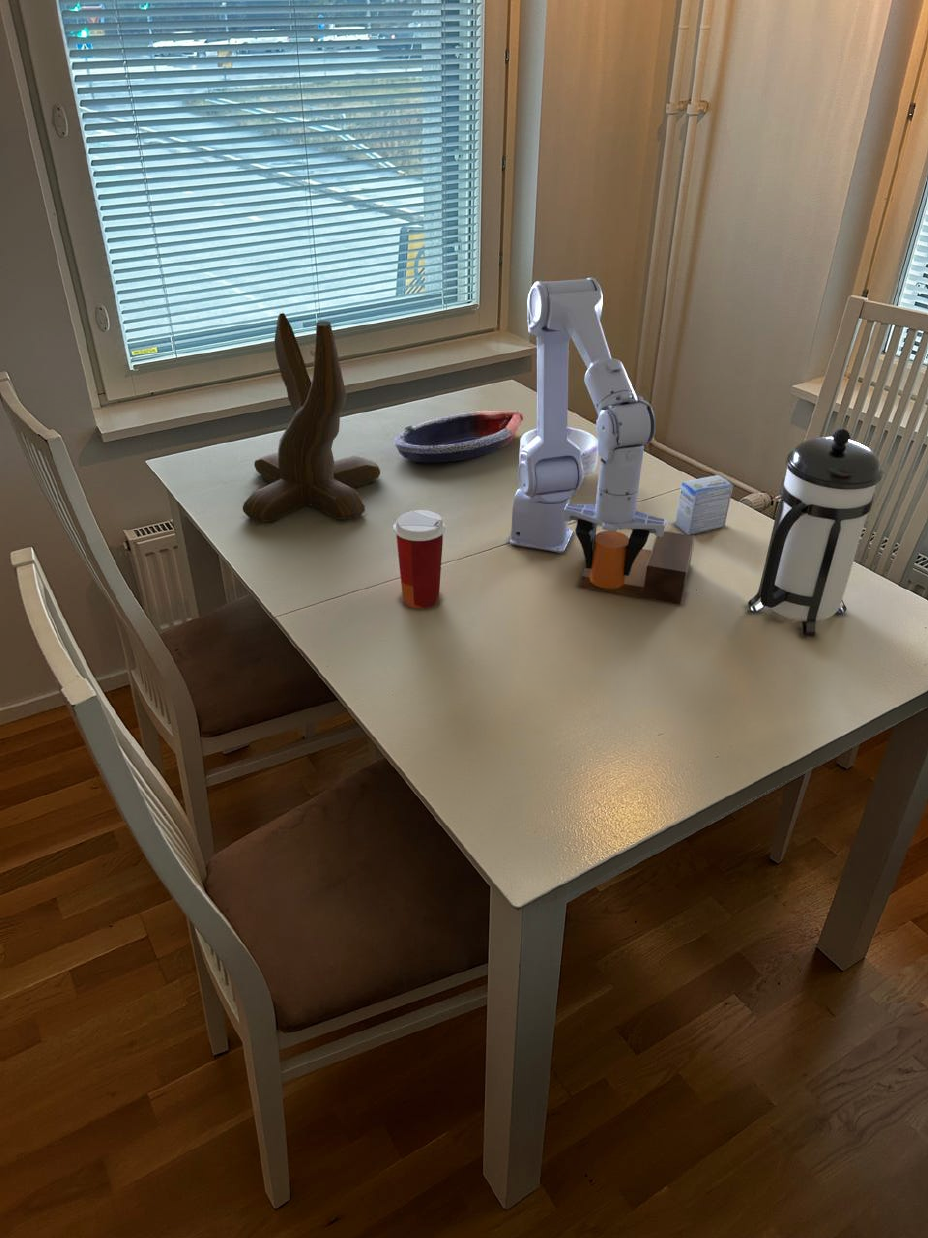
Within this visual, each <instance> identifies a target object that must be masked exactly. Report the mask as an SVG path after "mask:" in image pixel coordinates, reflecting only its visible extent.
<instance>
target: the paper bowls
mask: <svg viewBox="0 0 928 1238" xmlns="http://www.w3.org/2000/svg"><path fill="white" fill-rule="evenodd" d="M536 437H537V428H534V429H533V428H532V429H530V430H529V431H526V432H525V433H524V434H523V435H521V437H520V443H519V446H520V447H519V459H518V460H519V462H518V463H520V454H521V450H522V449H523V448H524V447H525V446H526V445H527V444H529V443H530V442H531V441H532V440H534V439H535V438H536ZM567 438H568V439H569V440H571V441H572V442H573V443H575V444H576V445H577V446H578V447H579V449H580V451H581V462H582V466H583V479H584V478H585V477H586V476H589V475H590V474H592V473H593V472H595V471H596V469H597V467H598V460H599V454H598V437H596V436H594V435H593V434H592V433H590V432H588V431H586V430H582V429H578V428H575V427H568V426H567Z"/></svg>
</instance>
